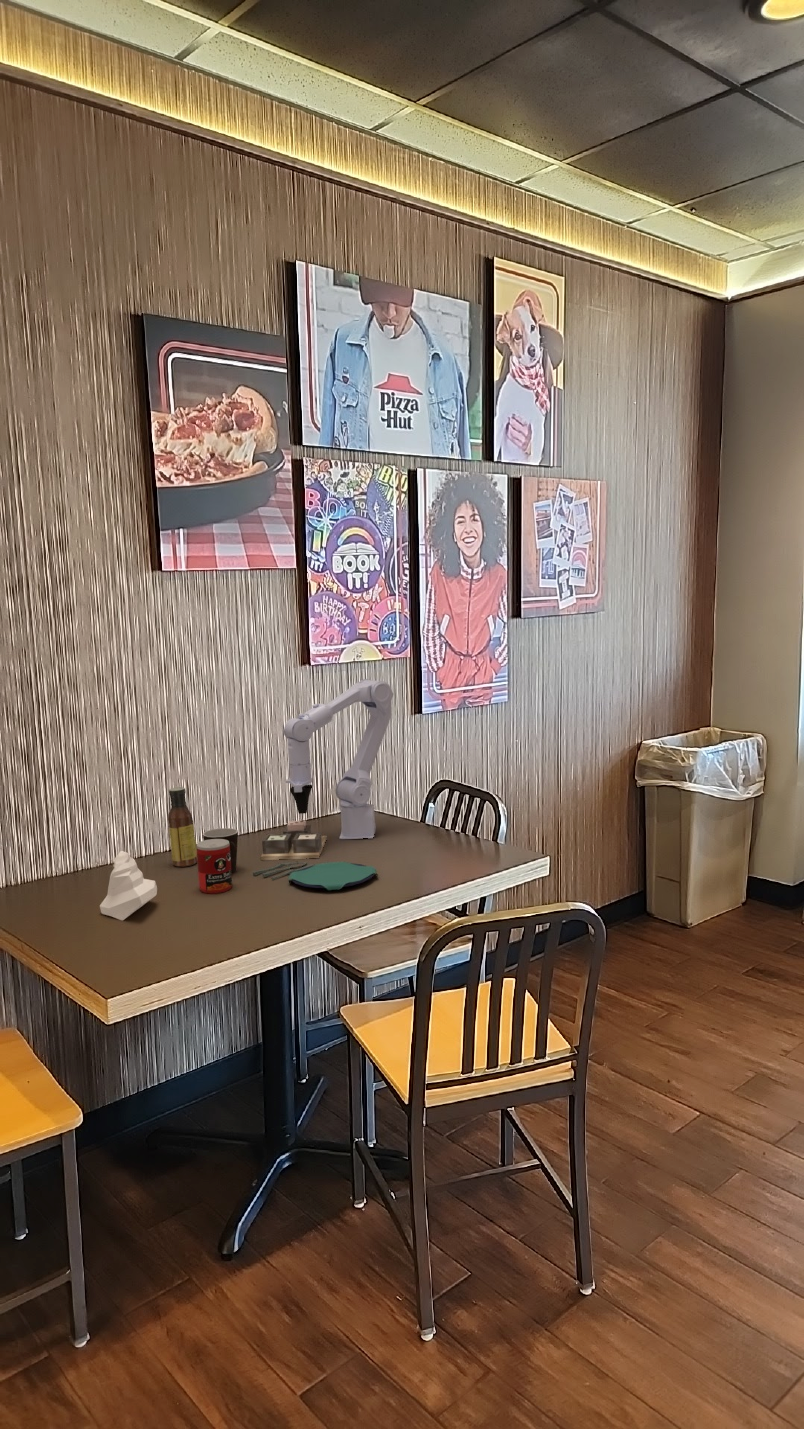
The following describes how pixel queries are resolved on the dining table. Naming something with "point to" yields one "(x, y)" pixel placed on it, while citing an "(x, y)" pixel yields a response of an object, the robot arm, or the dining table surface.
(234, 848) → the coffee mug
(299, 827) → the tile three
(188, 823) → the sauce bottle
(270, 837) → the tile two
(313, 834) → the tile one
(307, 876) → the cutlery set
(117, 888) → the soft serve ice cream
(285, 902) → the dining table surface
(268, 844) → the console
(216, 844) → the canned food
